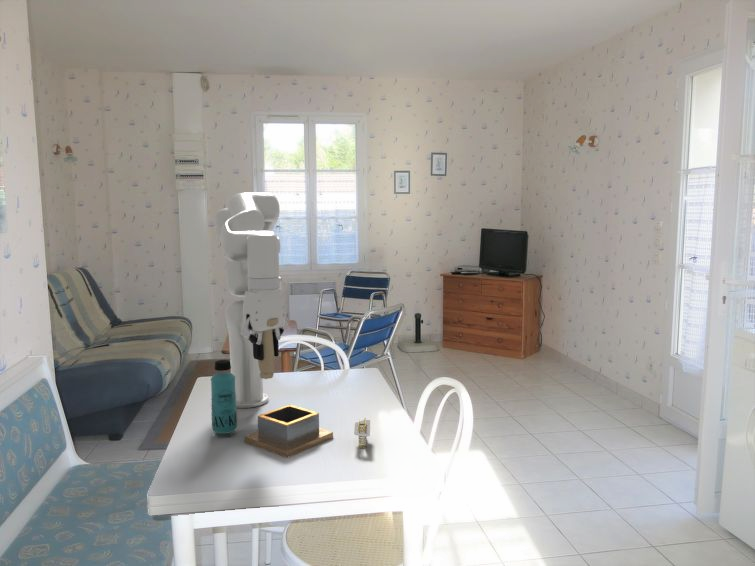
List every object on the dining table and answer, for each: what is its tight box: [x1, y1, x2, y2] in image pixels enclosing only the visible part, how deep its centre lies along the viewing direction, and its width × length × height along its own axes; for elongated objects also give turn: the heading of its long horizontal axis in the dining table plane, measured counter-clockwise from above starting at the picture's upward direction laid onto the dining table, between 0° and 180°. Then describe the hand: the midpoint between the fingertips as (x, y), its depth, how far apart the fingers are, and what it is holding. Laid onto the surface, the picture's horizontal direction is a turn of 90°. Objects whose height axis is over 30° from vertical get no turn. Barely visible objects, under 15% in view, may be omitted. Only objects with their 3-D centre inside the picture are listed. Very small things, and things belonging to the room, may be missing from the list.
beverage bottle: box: [210, 359, 238, 434], centre depth 158 cm, size 6×7×20 cm
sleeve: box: [243, 404, 334, 458], centre depth 155 cm, size 16×16×7 cm
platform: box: [353, 417, 371, 452], centre depth 152 cm, size 12×18×7 cm, turn 0°
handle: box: [258, 318, 278, 380], centre depth 149 cm, size 5×6×15 cm
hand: (266, 356), depth 149 cm, fingers closed on handle, 4 cm apart
